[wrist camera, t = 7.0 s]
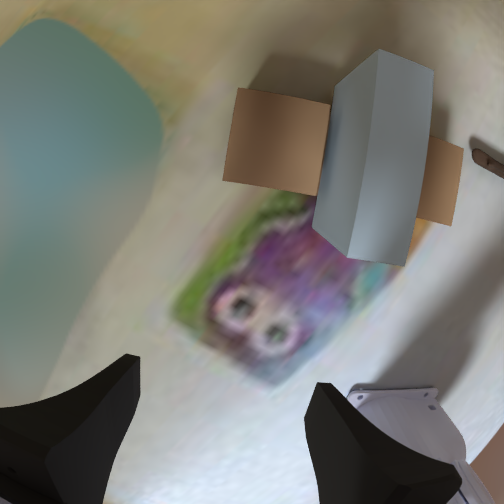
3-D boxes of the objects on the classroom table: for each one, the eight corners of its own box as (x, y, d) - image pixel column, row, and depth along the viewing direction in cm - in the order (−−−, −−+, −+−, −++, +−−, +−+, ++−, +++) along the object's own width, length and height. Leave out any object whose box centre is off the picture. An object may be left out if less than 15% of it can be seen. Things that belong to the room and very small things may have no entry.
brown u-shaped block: (435, 150, 19) (463, 148, 16) (423, 217, 20) (451, 226, 17) (238, 101, 18) (237, 87, 15) (226, 179, 20) (222, 180, 16)
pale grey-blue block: (376, 97, 17) (433, 70, 11) (353, 234, 20) (404, 266, 13) (334, 86, 17) (378, 48, 10) (311, 227, 19) (346, 257, 13)
